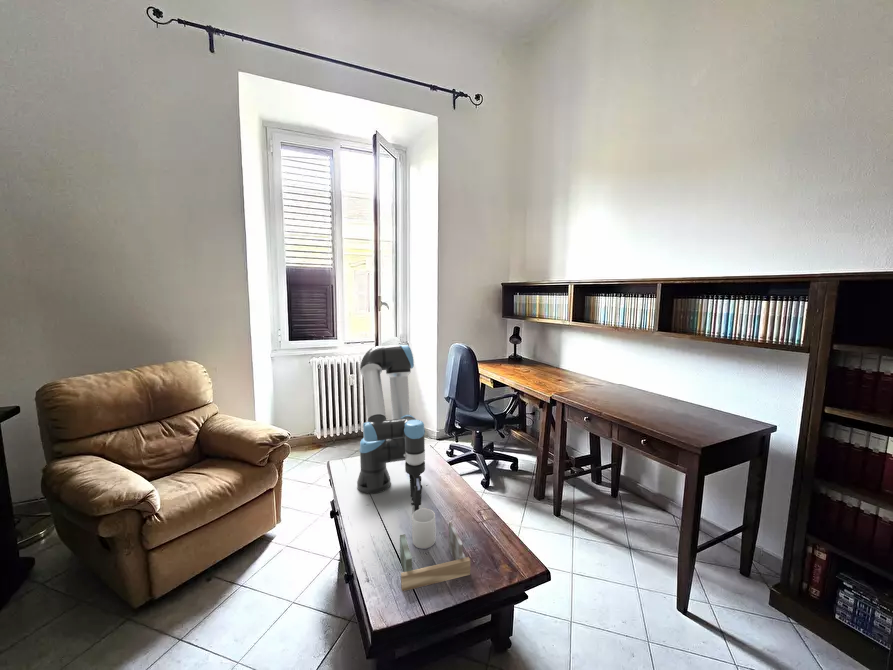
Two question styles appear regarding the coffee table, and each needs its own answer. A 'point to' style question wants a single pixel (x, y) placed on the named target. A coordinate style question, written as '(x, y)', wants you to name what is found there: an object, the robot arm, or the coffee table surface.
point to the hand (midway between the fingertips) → (416, 518)
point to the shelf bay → (435, 572)
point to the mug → (423, 528)
